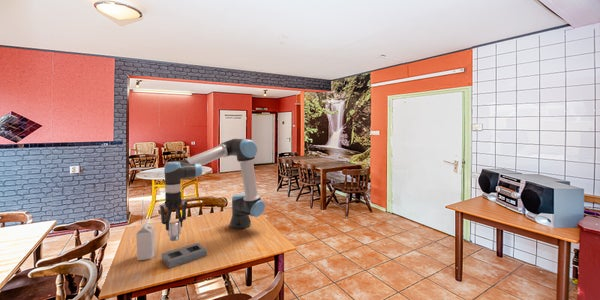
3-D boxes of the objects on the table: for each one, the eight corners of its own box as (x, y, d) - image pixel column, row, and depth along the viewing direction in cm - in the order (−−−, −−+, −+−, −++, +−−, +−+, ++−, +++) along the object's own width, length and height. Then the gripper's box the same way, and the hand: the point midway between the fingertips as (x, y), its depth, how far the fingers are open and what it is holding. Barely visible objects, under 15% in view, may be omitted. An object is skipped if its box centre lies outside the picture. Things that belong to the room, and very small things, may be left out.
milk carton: (137, 260, 142) (135, 226, 140) (141, 254, 148) (139, 221, 147) (152, 259, 144) (150, 225, 142) (155, 253, 150) (154, 220, 149)
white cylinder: (177, 236, 144) (176, 220, 144) (180, 239, 141) (179, 222, 140) (168, 239, 141) (168, 222, 141) (171, 241, 138) (171, 224, 137)
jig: (198, 248, 157) (197, 242, 157) (207, 255, 148) (206, 249, 148) (161, 259, 143) (161, 253, 143) (169, 268, 134) (169, 261, 134)
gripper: (187, 187, 148) (188, 228, 150) (152, 192, 136) (154, 236, 138) (192, 190, 142) (193, 232, 144) (157, 195, 130) (158, 241, 132)
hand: (174, 234), depth 141 cm, fingers closed on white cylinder, 4 cm apart
